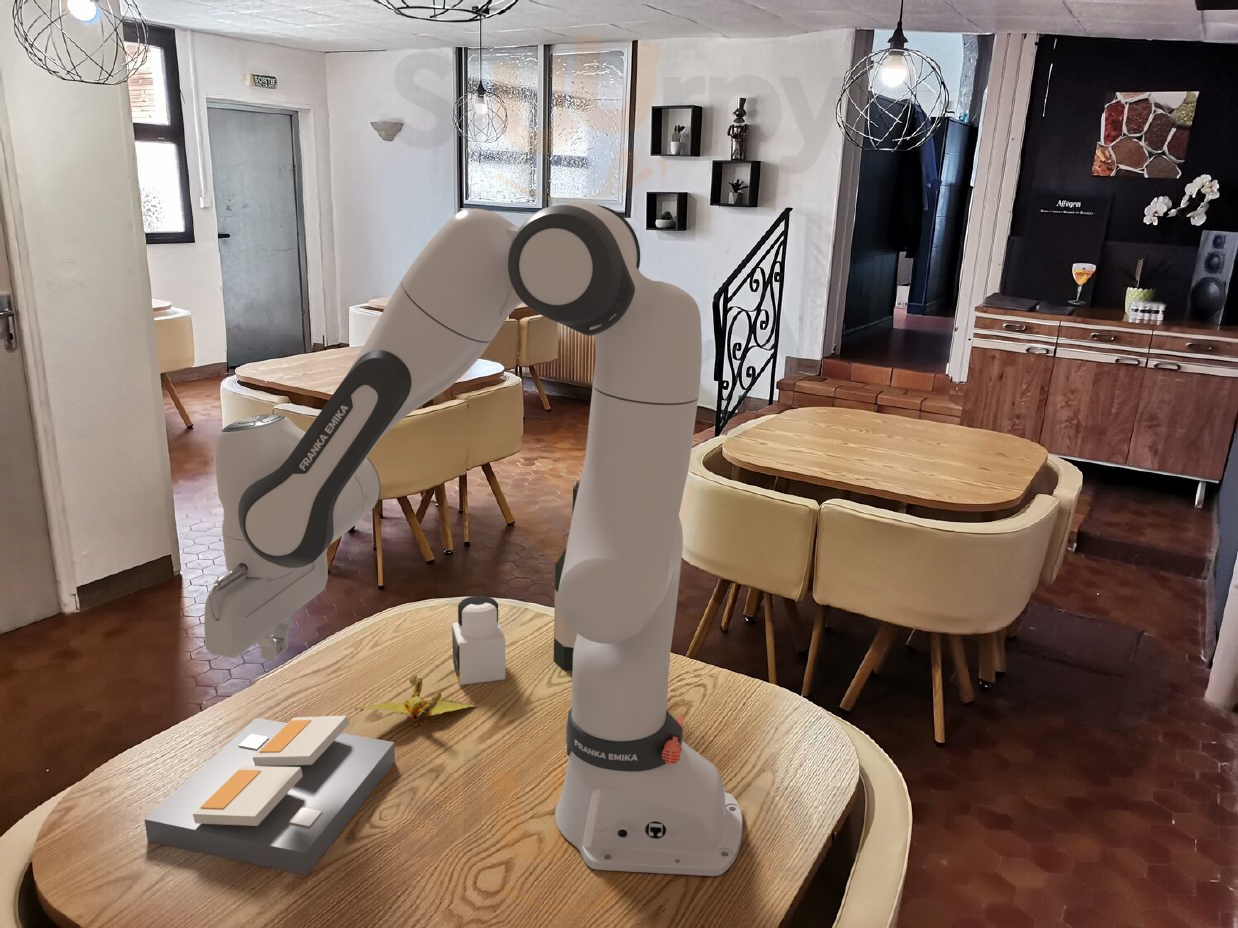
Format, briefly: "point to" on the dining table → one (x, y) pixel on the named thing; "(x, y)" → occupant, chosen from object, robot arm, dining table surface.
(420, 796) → the dining table surface
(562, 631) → the wine bottle
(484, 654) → the medicine bottle
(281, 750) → the right rocker
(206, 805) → the left rocker
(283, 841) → the switch panel
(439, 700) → the origami crane
